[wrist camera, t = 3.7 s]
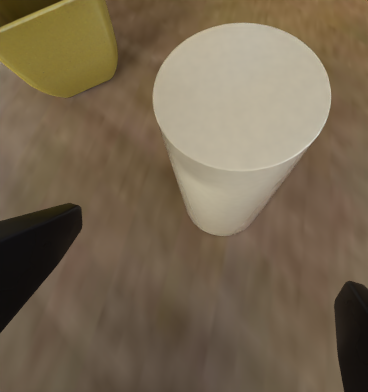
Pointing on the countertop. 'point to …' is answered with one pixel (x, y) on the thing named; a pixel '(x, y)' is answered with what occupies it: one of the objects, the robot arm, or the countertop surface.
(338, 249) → the countertop surface
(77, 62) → the flower pot
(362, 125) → the countertop surface
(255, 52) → the tall white cylinder
